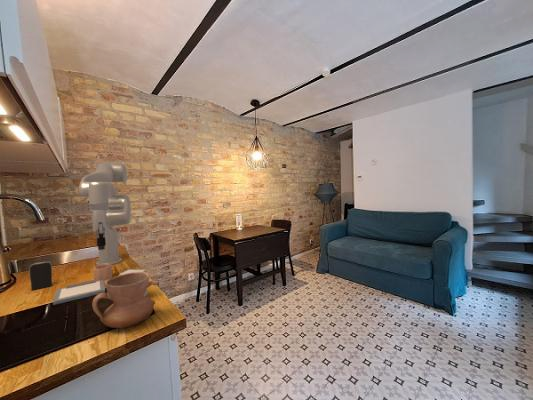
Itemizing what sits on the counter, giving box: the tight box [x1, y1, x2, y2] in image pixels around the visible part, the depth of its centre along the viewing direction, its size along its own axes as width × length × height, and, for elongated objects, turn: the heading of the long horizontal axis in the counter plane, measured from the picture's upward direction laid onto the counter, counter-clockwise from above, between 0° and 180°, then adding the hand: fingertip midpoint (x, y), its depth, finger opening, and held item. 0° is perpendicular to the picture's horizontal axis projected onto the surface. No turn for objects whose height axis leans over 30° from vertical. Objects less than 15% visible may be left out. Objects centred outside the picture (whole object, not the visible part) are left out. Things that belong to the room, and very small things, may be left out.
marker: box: [95, 228, 106, 251], centre depth 108 cm, size 4×4×10 cm
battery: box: [28, 260, 53, 291], centre depth 100 cm, size 7×4×11 cm, turn 132°
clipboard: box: [52, 279, 106, 306], centre depth 95 cm, size 14×16×2 cm
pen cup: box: [93, 264, 113, 282], centre depth 109 cm, size 7×7×6 cm
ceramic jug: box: [91, 272, 158, 329], centre depth 74 cm, size 18×14×14 cm
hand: (101, 244), depth 108 cm, fingers closed on marker, 3 cm apart
